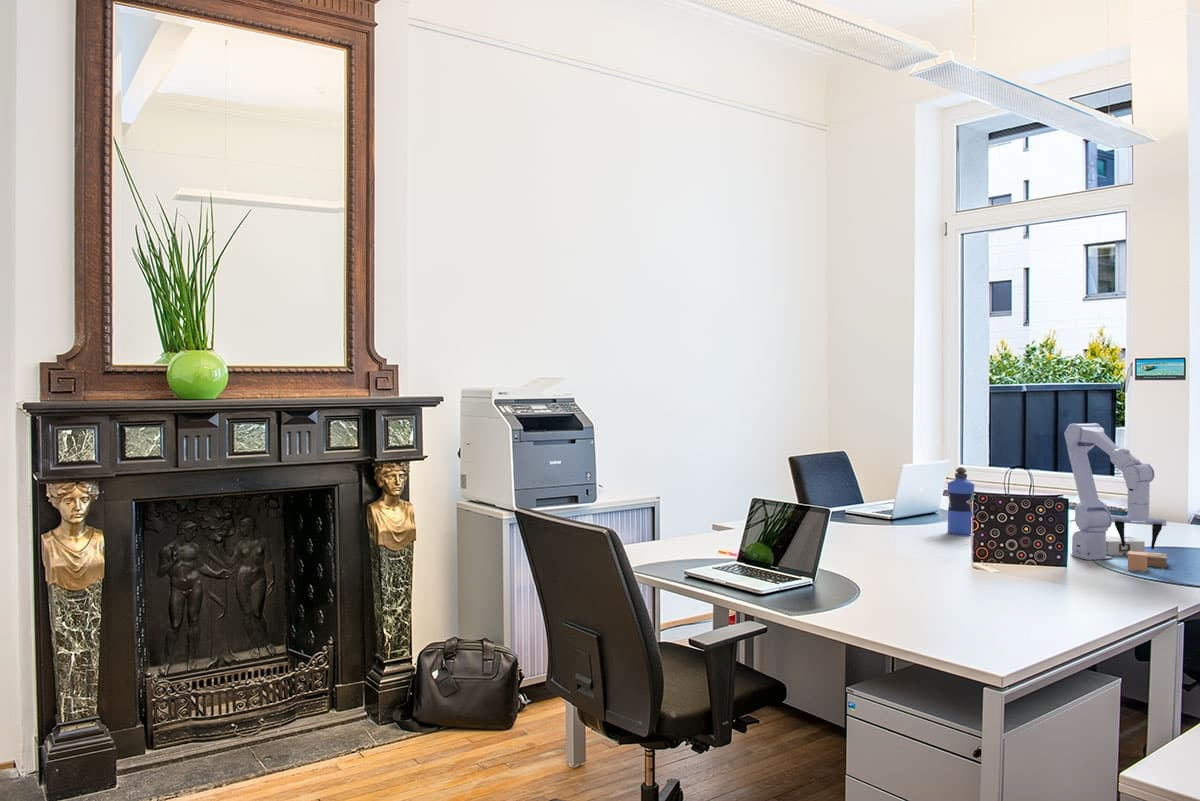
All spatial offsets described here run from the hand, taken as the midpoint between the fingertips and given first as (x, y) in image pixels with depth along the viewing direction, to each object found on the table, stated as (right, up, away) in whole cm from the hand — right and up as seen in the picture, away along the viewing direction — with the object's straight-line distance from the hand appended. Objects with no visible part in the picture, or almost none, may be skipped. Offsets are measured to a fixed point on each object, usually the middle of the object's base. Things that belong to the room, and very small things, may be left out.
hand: (1137, 547), depth 271 cm
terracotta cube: (0, -7, 0) cm, 7 cm away
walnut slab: (+9, -7, +7) cm, 13 cm away
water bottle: (-29, -5, +62) cm, 69 cm away
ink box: (+15, -4, +24) cm, 29 cm away
